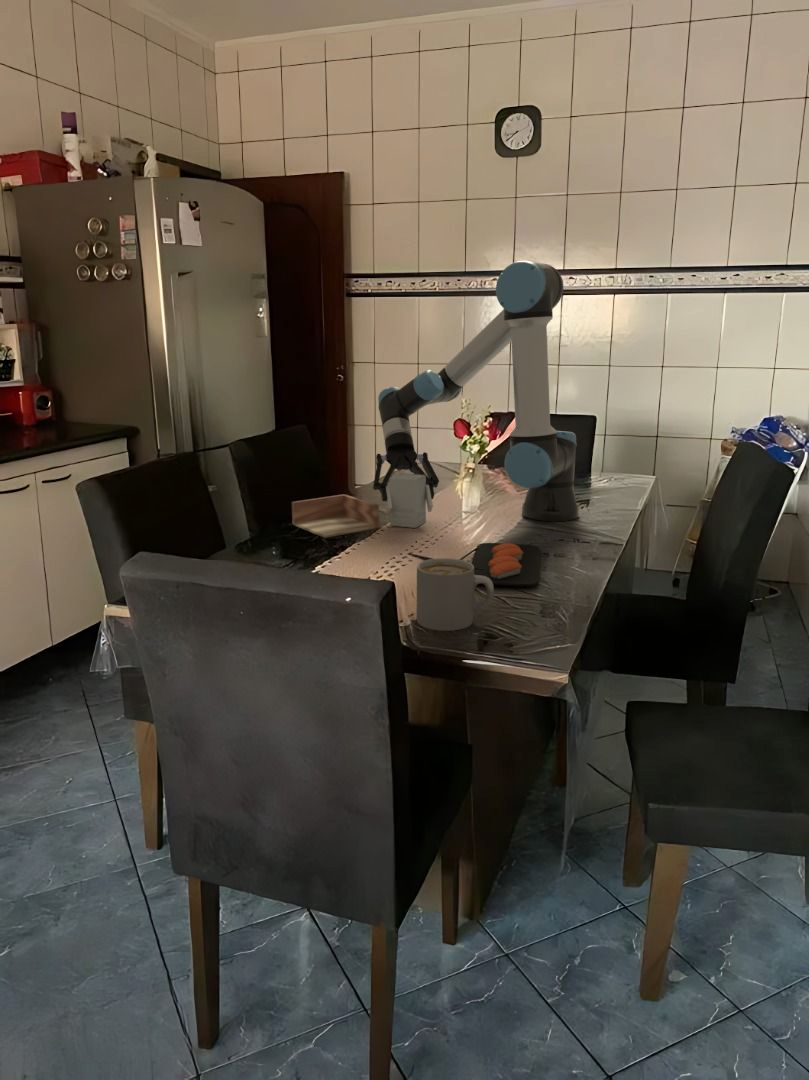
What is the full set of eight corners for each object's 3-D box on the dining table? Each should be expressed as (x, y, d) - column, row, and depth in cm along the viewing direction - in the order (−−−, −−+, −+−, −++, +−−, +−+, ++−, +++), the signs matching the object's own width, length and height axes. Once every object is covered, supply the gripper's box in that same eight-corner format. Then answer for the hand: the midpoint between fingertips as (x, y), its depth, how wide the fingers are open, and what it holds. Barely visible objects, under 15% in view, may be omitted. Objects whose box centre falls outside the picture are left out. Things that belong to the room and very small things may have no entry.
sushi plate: (539, 594, 157) (540, 575, 156) (388, 585, 162) (388, 567, 161) (540, 553, 185) (541, 537, 184) (412, 546, 189) (412, 530, 188)
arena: (378, 528, 204) (378, 505, 202) (324, 537, 195) (324, 513, 193) (344, 515, 216) (344, 494, 214) (292, 524, 207) (291, 501, 205)
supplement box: (426, 522, 210) (427, 474, 206) (415, 528, 203) (415, 479, 200) (401, 519, 213) (401, 472, 209) (388, 525, 206) (388, 477, 203)
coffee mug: (411, 628, 138) (411, 572, 136) (422, 608, 148) (423, 556, 145) (488, 634, 135) (490, 578, 133) (495, 614, 145) (497, 561, 142)
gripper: (436, 446, 220) (450, 515, 209) (355, 448, 215) (365, 519, 205) (441, 429, 213) (456, 500, 203) (358, 431, 209) (368, 503, 198)
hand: (410, 509), depth 204 cm, fingers closed on supplement box, 10 cm apart
